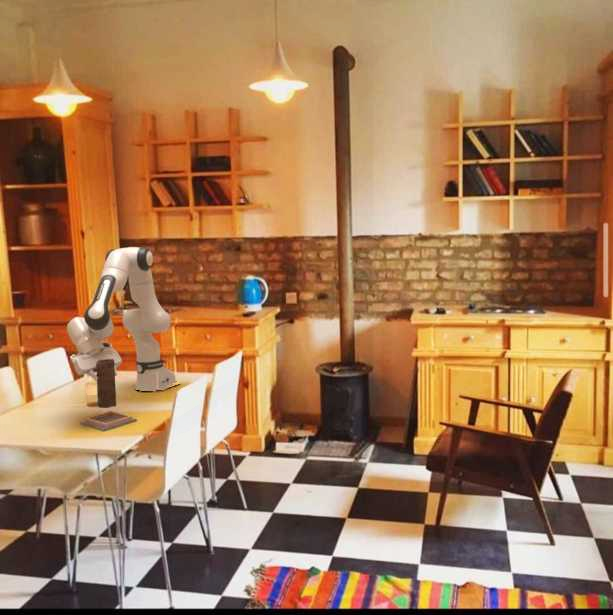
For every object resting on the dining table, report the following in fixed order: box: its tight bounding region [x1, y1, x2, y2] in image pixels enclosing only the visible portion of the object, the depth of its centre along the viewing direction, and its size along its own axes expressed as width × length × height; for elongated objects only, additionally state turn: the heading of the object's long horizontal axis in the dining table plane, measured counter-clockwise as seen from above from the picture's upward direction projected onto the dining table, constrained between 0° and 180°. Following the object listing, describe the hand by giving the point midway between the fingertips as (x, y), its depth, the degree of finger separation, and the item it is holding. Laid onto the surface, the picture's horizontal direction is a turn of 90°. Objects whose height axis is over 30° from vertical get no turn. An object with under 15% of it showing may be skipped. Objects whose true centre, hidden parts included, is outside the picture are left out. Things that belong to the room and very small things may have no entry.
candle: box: [96, 359, 117, 409], centre depth 281 cm, size 8×7×20 cm
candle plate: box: [80, 410, 138, 432], centre depth 283 cm, size 16×16×2 cm
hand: (106, 377), depth 280 cm, fingers closed on candle, 7 cm apart
